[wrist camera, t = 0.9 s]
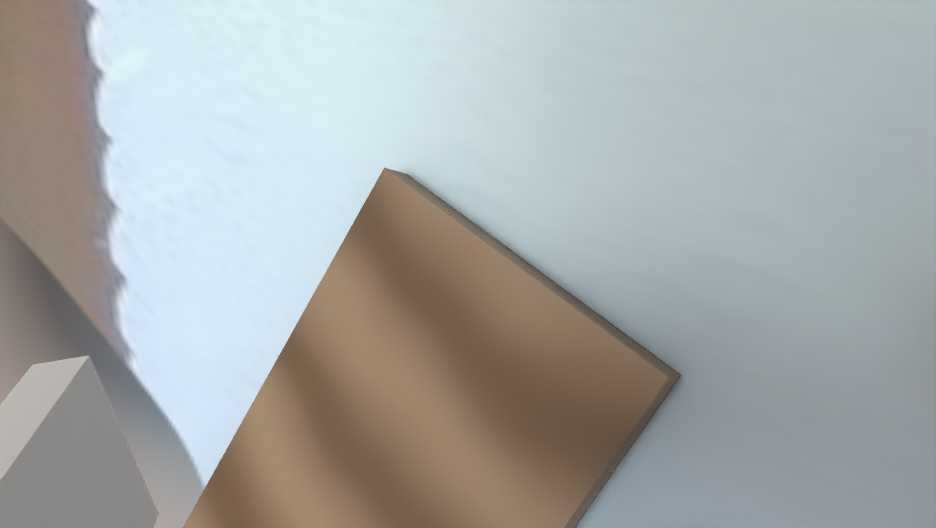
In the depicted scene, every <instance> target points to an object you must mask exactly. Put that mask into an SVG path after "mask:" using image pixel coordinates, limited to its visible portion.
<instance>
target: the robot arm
mask: <svg viewBox="0 0 936 528" xmlns="http://www.w3.org/2000/svg"><path fill="white" fill-rule="evenodd" d="M158 515H159V513H158V511H157V508H156V506H155V504H154V502H153V500H152V497H151V495H150V492H149V490H148V488H147V486H146V483H145V481H144V479H143V477H142V474H141V472H140V470H139V468H138V465H137V463H136V461H135V458H134V456H133V454H132V452H131V449H130V447H129V445H128V443H127V440H126V438H125V436H124V434H123V431H122V429H121V427H120V424H119V422H118V420H117V418H116V415H115V413H114V411H113V409H112V407H111V404H110V402H109V400H108V397H107V395H106V393H105V390H104V388H103V386H102V384H101V381H100V379H99V377H98V375H97V372H96V370H95V368H94V366H93V363H92V361H91V359H90V357H89V356H83V357H77V358H71V359H65V360H59V361H53V362H47V363H42V364H35V365H32V367H31V368H30V369H29V370H28V371H27V373H26V374H25V375H24V376H23V378H22V379H21V380H20V381H19V383H18V384H17V385H16V386H15V388H14V389H13V390H12V391H11V393H10V394H9V395H8V396H7V397H6V399H5V400H4V401H3V403H2V404H1V405H0V528H153V527H154V524H155V522H156V519H157V517H158Z"/></svg>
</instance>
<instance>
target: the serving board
mask: <svg viewBox="0 0 936 528" xmlns="http://www.w3.org/2000/svg"><path fill="white" fill-rule="evenodd" d="M679 377H680V374H679V373H678V372H676V371H675V370H673V369H672V368H671V367H669V366H668V365H667V364H665V363H664V362H663V361H661V360H660V359H658V358H657V357H656V356H654V355H653V354H652V353H650V352H649V351H647V350H646V349H645V348H643V347H642V346H641V345H639V344H638V343H637V342H635V341H634V340H632V339H631V338H630V337H628V336H627V335H626V334H624V333H623V332H621V331H620V330H619V329H617V328H616V327H615V326H613V325H612V324H611V323H609V322H608V321H606V320H605V319H604V318H602V317H601V316H600V315H598V314H597V313H596V312H594V311H593V310H591V309H590V308H589V307H587V306H586V305H585V304H583V303H582V302H580V301H579V300H578V299H576V298H575V297H574V296H572V295H571V294H570V293H568V292H567V291H565V290H564V289H563V288H561V287H560V286H559V285H557V284H556V283H555V282H553V281H552V280H550V279H549V278H548V277H546V276H545V275H544V274H542V273H541V272H539V271H538V270H537V269H535V268H534V267H533V266H531V265H530V264H529V263H527V262H526V261H524V260H523V259H522V258H520V257H519V256H518V255H516V254H515V253H514V252H512V251H511V250H509V249H508V248H507V247H505V246H504V245H503V244H501V243H500V242H498V241H497V240H496V239H494V238H493V237H492V236H490V235H489V234H488V233H486V232H485V231H483V230H482V229H481V228H479V227H478V226H477V225H475V224H474V223H473V222H471V221H470V220H468V219H467V218H466V217H464V216H463V215H462V214H460V213H459V212H457V211H456V210H455V209H453V208H452V207H451V206H449V205H448V204H447V203H445V202H444V201H442V200H441V199H440V198H438V197H437V196H436V195H434V194H433V193H432V192H430V191H429V190H427V189H426V188H425V187H423V186H422V185H421V184H419V183H418V182H416V181H415V180H414V179H412V178H411V177H410V176H408V175H407V174H404V173H401V172H397V171H394V170H390V169H387V168H384V169H383V171H382V173H381V175H380V176H379V178H378V180H377V182H376V184H375V185H374V187H373V189H372V191H371V193H370V194H369V196H368V198H367V200H366V201H365V203H364V205H363V207H362V209H361V210H360V212H359V214H358V216H357V218H356V219H355V221H354V223H353V225H352V226H351V228H350V230H349V232H348V234H347V235H346V237H345V239H344V241H343V243H342V244H341V246H340V248H339V250H338V251H337V253H336V255H335V257H334V259H333V260H332V262H331V264H330V266H329V268H328V269H327V271H326V273H325V275H324V277H323V278H322V280H321V282H320V284H319V285H318V287H317V289H316V291H315V293H314V294H313V296H312V298H311V300H310V302H309V303H308V305H307V307H306V309H305V310H304V312H303V314H302V316H301V318H300V319H299V321H298V323H297V325H296V327H295V328H294V330H293V332H292V334H291V335H290V337H289V339H288V341H287V343H286V344H285V346H284V348H283V350H282V352H281V353H280V355H279V357H278V359H277V360H276V362H275V364H274V366H273V368H272V369H271V371H270V373H269V375H268V377H267V378H266V380H265V382H264V384H263V386H262V387H261V389H260V391H259V393H258V394H257V396H256V398H255V400H254V402H253V403H252V405H251V407H250V409H249V411H248V412H247V414H246V416H245V418H244V419H243V421H242V423H241V425H240V427H239V428H238V430H237V432H236V434H235V436H234V437H233V439H232V441H231V443H230V444H229V446H228V448H227V450H226V452H225V453H224V455H223V457H222V459H221V461H220V462H219V464H218V466H217V468H216V469H215V471H214V473H213V475H212V477H211V478H210V480H209V482H208V484H207V486H206V487H205V489H204V491H203V493H202V495H201V496H200V498H199V500H198V502H197V504H196V505H195V507H194V509H193V511H192V512H191V514H190V516H189V518H188V520H187V521H186V523H185V525H184V527H183V528H575V526H576V525H577V523H578V522H579V521H580V519H581V518H582V516H583V515H584V513H585V512H586V511H587V509H588V508H589V506H590V505H591V503H592V502H593V500H594V499H595V498H596V496H597V495H598V493H599V492H600V490H601V489H602V488H603V486H604V485H605V483H606V482H607V480H608V479H609V478H610V476H611V475H612V473H613V472H614V470H615V469H616V467H617V466H618V465H619V463H620V462H621V460H622V459H623V457H624V456H625V455H626V453H627V452H628V450H629V449H630V447H631V446H632V444H633V443H634V442H635V440H636V439H637V437H638V436H639V434H640V433H641V432H642V430H643V429H644V427H645V426H646V424H647V423H648V421H649V420H650V419H651V417H652V416H653V414H654V413H655V411H656V410H657V409H658V407H659V406H660V404H661V403H662V401H663V400H664V398H665V397H666V396H667V394H668V393H669V391H670V390H671V388H672V387H673V386H674V384H675V383H676V381H677V380H678V378H679Z"/></svg>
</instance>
